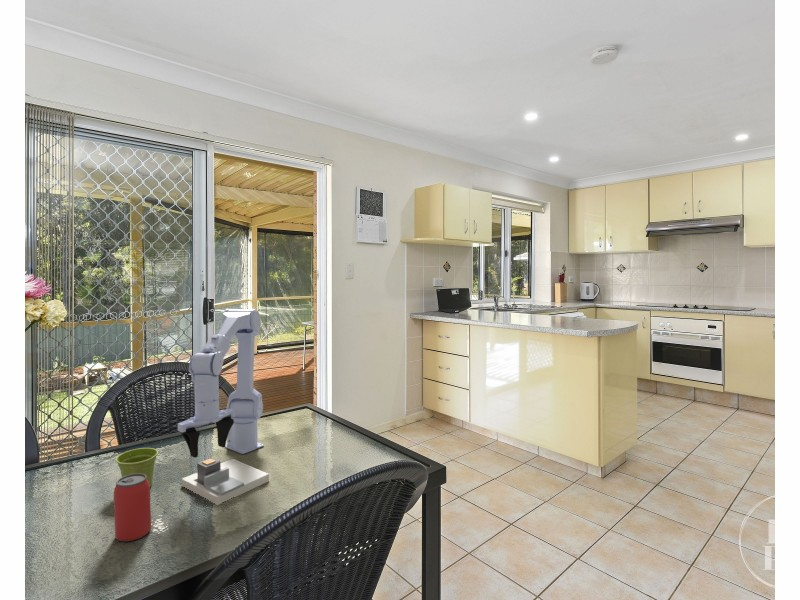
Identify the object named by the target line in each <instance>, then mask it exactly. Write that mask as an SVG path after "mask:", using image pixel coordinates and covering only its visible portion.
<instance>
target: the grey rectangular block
mask: <svg viewBox="0 0 800 600" xmlns="http://www.w3.org/2000/svg"><path fill="white" fill-rule="evenodd" d="M220 463H221V461H220V460H217V459H215V458H212V457H211V458H208V459H205V460H202V461H199V462H197V463H196V464H197V467H196V468H197V469H196V470H197V472H196V473H197V474H198V483H200V484H202V485H203V486H204V476H206V475H209V474H211V473H214V472H216V471H219V470H221V466H220Z"/></svg>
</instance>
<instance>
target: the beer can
mask: <svg viewBox="0 0 800 600" xmlns="http://www.w3.org/2000/svg"><path fill="white" fill-rule="evenodd" d="M150 489H151V487H150V485H149V482H148V480H147V476H146V475H145V474H140V473H137V474H130V475H127V476H124V477H122V476H121V477H120V478H119V479H117V480H116V482H115V487H114V490H113V510H114V512H113V513H114V536H115V537H114V538H116V539H117V541H120V542H124V543H125V542H126V543H127V542H133V541H137V540H139V539H142V537H145V536H146V535H147V534H148V533H149V532H150V531H151V528H152V519H151V518H152V513H151V490H150Z"/></svg>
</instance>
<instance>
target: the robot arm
mask: <svg viewBox="0 0 800 600" xmlns="http://www.w3.org/2000/svg"><path fill="white" fill-rule="evenodd" d="M221 323H222V324H221V326H220V328H219V331H217V334H212V336H210V337H209V339H208V341H207V342H206V343H205V345H204V346H203V348H202V349H201V350H200V352H197V353H195V354H193V355H192V356H191V358H190V360H189V365H188V371H189V374H190V376H191V382H192V384H193V387H194V388H193V389H194V391H193V393H194V416H193V417H190V418H188V419H186V420H184V421H181V422H179V423H177V432H179V433H180V434H181V436H182V437H183V439H184V441H185V443H186V444H187V447H188V450H189V454H190V457H192V458H195V459H196V458H198V457H199V439H200V435H201V432H199V431H197V429H196V428H199V427H203V426H205V425H209V424H213V423H215V425H216V427H215V428H216V430H217V431H216V432H217V433H216V434H217V443H218V444H217V445H218V447H220V448H225V449H229V450H231V451H233V452H236V453H238V454H240V455H244V454H247V453H250V452H252V451H255V450H257V449H260V448H262V447H264V446H265V445H264V444H263V443H261V442H259V437H258V436H259V435H258V434H259V433H258V432H259V431H258V420H260V418H261V417H262V415H263V412H264V403H263V395H262V393H261V392H259V391H258V390H256V388H254V371H255V370H254V368H255V367H254V365H255V363H254V362H255V341H256V340H255V339H256V337H257V336H258V335H260V332H261V315H260V312H259V310H257V308H250V309H248V308H243V309H242V308H241V309H240V308H239V309H238V308H225V309H224V311H223V312H222V316H221ZM234 336H235V337H236V339H237V366H236V369H237V370H236V389H235V390H234V391H232V392H231V393H230V394H229V395H228V399H227V405H226V409H222V410H220V390H219V389H220V388H219V387H220V386H219V385H220V384H219V381H220V380H219V375H220V374H221V372H222V370H223V364H224V363H225V362H224V361H225V360H224V358H225V356H226V354H227V353H228V352H229V350H230V349H231V340H232V338H233V337H234Z"/></svg>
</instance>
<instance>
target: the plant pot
mask: <svg viewBox="0 0 800 600" xmlns="http://www.w3.org/2000/svg"><path fill="white" fill-rule="evenodd" d="M158 454H159V451H158V449H156V448H154V447H152V448H151V447H141V448H140V447H139V448H135V449H134V448H133V449H130V450H126V451H124V452H122V453H121V454H119V455H117V456H116V458H115V462H116V463H117V466H118V468H119V470H120V471H119V472H120V475H121V478H122V477H124V476H127V475H130V474H137V473H140V474H145V475H146V476H147V480H148V482H149V485H150V488H151V487H152V484H153V479H154V469H155V463H156V462H155V461H156V460H157V456H158Z"/></svg>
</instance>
